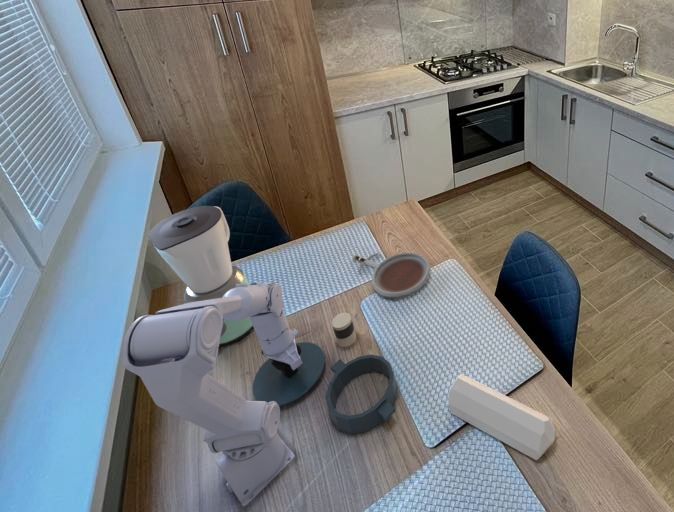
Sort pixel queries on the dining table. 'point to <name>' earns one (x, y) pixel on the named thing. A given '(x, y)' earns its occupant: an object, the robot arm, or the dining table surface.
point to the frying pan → (398, 274)
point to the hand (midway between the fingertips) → (289, 370)
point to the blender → (201, 259)
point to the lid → (283, 389)
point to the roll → (344, 329)
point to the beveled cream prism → (501, 417)
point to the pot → (344, 376)
